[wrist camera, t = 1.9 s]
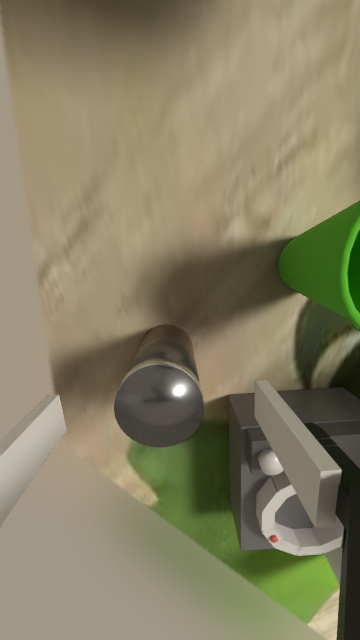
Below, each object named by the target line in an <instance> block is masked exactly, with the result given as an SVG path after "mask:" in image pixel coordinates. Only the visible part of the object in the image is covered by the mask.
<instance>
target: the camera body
mask: <svg viewBox="0 0 360 640" xmlns="http://www.w3.org/2000/svg"><path fill="white" fill-rule="evenodd" d="M277 393H278V394H279V395H280V396H281V398H282V399H283V400H284V401H285V402H286V404H287V405H288V406H289V407H290V408H291V410H292V411H293V412H294V413H295V414H296V416H297V417H298V418H299V419H300V420H301V422H302V423H311V422H313V423H314V424H316V425H317V426H319V427H320V428H322V429H323V430H324V431H325V432H326V433H327V434H328V435H329V436H330V437H331V439H332V440H333V441H334V442H335V443H336V444H337V446H338V447H340V448H341V449H342V450H343V451H344V452H345V454H346V455H347V456H348V457H349V458H350V459H351V460H352V461H353V462H354V463H355V464H356V465H357V466H358V467H359V469H360V399H358V398H357V397H356V396H354V395H353V394H352V393H350V392H349V391H347V390H346V389H345V388H343V387H335V388H320V389H306V390H291V391H277ZM228 408H229V471H230V504H231V508H232V513H233V517H234V522H235V526H236V531H237V535H238V540H239V544H240V548H241V551H245V550H261V549H279V550H281V551H284V552H287V553H290V554H293V555H297V556H302V555H318V554H323V553H324V554H325V553H327V552H329V551H331V550H334V549H336V548H338V547H340V546H341V545H342V538H343V531H344V526H343V525H342V523H341V522H340V520H339V519H338V517H337V516H336V520H335V527H325V528H315V527H314V525H313V523H312V521H311V519H310V518H309V516H308V514H307V512H306V510H305V508H304V507H303V505H302V503H301V501H300V499H299V497H298V495H297V494H296V492H295V490H294V488H293V486H292V484H291V483H290V481H289V479H288V477H287V475H286V473H285V471H284V470H283V468H282V466H281V464H280V462H279V460H278V459H277V457H276V455H275V453H274V451H273V449H272V448H271V446H270V444H269V442H268V440H267V438H266V436H265V435H264V433H263V431H262V429H261V427H260V425H259V424H258V422H257V420H256V418H255V393H248V394H233V395H228Z"/></svg>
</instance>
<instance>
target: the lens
mask: <svg viewBox="0 0 360 640" xmlns="http://www.w3.org/2000/svg"><path fill="white" fill-rule="evenodd" d="M114 412H115V417H116V420H117V422H118V424H119V426H120V428H121V429H122V430H123V432H124V433H125V434H126V435H127V436H129V437H130V438H131V439H133V440H135V441H136V442H138V443H141V444H143V445H147V446H151V447H168V446H172V445H176V444H179V443H181V442H183V441H185V440H186V439H188V438H189V437H190V436H191V435H192V434H193V433H194V432H195V431H196V430H197V428H198V427H199V425H200V423H201V421H202V418H203V413H204V406H203V395H202V390H201V386H200V383H199V378H198V373H197V368H196V362H195V357H194V352H193V347H192V342H191V340H190V338H189V336H188V335H187V333H186V332H184V331H183V330H182V329H180V328H179V327H176V326H173V325H160V326H157V327H155V328H153V329H151V330H150V331H149V332H148V333H147V334H146V335H145V337H144V339H143V341H142V343H141V345H140V347H139V349H138V351H137V353H136V355H135V357H134V360H133V362H132V364H131V366H130V368H129V370H128V372H127V374H126V376H125V377H124V379H123V381H122V383H121V385H120V387H119V389H118V392H117V395H116V398H115V403H114Z"/></svg>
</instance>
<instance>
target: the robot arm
mask: <svg viewBox="0 0 360 640" xmlns="http://www.w3.org/2000/svg"><path fill="white" fill-rule="evenodd" d="M255 418H256V420H257V422H258V424H259V425H260V427H261V429H262V431H263V433H264V435H265V436H266V438H267V440H268V442H269V444H270V446H271V448H272V449H273V451H274V453H275V455H276V457H277V459H278V460H279V462H280V464H281V466H282V468H283V470H284V471H285V473H286V475H287V477H288V479H289V481H290V483H291V484H292V486H293V488H294V490H295V492H296V494H297V495H298V497H299V499H300V501H301V503H302V505H303V507H304V508H305V510H306V512H307V514H308V516H309V518H310V519H311V521H312V523H313V525H314V527H315V528H325V527H335V520H336V516H337V517H338V519H339V520H340V522H341V523H342V525H343V526H344V531H343V538H342V545H341V547H342V562H341V578H340V595H339V611H338V628H337V640H360V469H359V467H358V466H357V465H356V464H355V463H354V462H353V461H352V460H351V459H350V458H349V457H348V456H347V455H346V454H345V452H344V451H343V450H342V449H341V448H340V447H338V446H337V444H336V443H335V442H334V441H333V440H332V439H331V437H330V436H329V435H328V434H327V433H326V432H325V431H324V430H323V429H322V428H320V427H319V426H317V425H316V424H314V423H313V422H311V423H302V422H301V420H300V419H299V418H298V417H297V416H296V414H295V413H294V412H293V411H292V410H291V408H290V407H289V406H288V405H287V404H286V402H285V401H284V400H283V399H282V398H281V396H280V395H279V394H278V393H277V392H276V390H275V389H274V388H273V387H272V386H271V384H270V383H269V382H268V381H267V380H266V379H265V380H255ZM66 430H67V429H66V424H65V420H64V415H63V411H62V406H61V402H60V397H59V395H47V396H46V397H45V398H44V399H43V400H42V401H41V402H40V403H39V404H38V405H37V406H36V407H35V408H34V409H33V410H32V411H31V412H30V413H29V414H28V415H27V416H26V417H25V418H24V419H22V421H20V422H19V423H18V424H17V426H15V427H14V428H13V429H12V430H11V431H10V432H9V433H8V434H7V435H6V436H5V437H4V438H3V439H2V440H1V441H0V526H1V525H2V523H3V522H4V520H5V519H6V517H7V516H8V515H9V513H10V511H11V510H12V508H13V507H14V505H15V504H16V503H17V501H18V500H19V499H20V497H21V496H22V494H23V493H24V491H25V490H26V488H27V487H28V485H29V484H30V482H31V481H32V480H33V478H34V477H35V475H36V474H37V472H38V471H39V469H40V468H41V467H42V465H43V464H44V462H45V461H46V459H47V458H48V456H49V455H50V453H51V452H52V450H53V449H54V448H55V446H56V445H57V443H58V442H59V440H60V439H61V437H62V436H63V435H64V433H65V432H66Z"/></svg>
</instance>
